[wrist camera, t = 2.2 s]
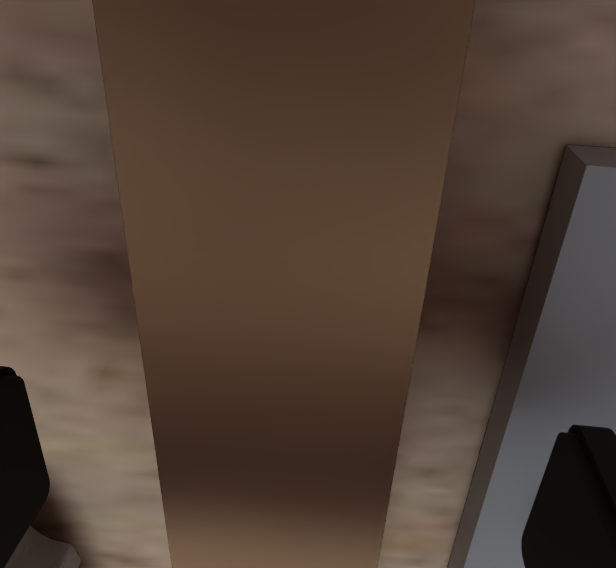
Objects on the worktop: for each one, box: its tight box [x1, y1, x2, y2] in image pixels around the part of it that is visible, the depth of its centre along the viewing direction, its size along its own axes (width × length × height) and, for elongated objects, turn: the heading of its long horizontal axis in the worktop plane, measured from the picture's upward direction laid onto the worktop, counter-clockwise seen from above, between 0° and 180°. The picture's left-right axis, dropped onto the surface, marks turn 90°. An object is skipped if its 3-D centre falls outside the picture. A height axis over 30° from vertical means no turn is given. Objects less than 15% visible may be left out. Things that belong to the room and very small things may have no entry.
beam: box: [92, 0, 476, 568], centre depth 11 cm, size 20×4×5 cm, turn 178°
